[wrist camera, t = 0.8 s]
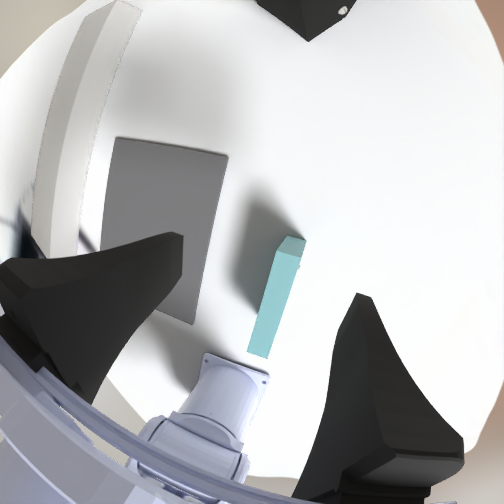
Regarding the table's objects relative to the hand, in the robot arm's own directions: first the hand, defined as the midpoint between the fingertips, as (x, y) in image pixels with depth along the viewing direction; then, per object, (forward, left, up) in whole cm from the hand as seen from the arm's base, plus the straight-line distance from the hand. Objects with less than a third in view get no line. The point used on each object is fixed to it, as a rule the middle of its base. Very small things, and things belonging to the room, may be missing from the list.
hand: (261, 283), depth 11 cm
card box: (-6, 0, -15) cm, 16 cm away
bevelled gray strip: (+5, +31, -16) cm, 35 cm away
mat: (-5, +15, -15) cm, 22 cm away
